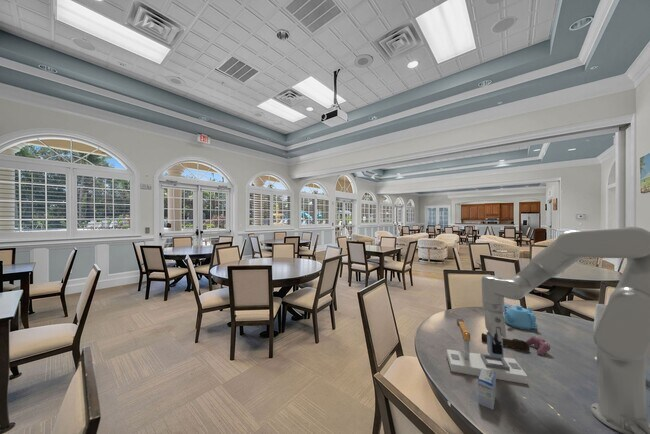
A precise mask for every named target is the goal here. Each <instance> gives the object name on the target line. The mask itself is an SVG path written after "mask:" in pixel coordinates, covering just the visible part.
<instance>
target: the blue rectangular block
mask: <svg viewBox="0 0 650 434" xmlns="http://www.w3.org/2000/svg"><path fill="white" fill-rule="evenodd" d="M486 334H487V342H486V345H487V346H486V348H487V353H488V355H490V356H491V357H497V358H504V357H505V356H504V345H503V338H504V337H502V355H501V354H494V353H493V352H492V343H493V338H492V335H491V334H490V333H489V332H488V331H486ZM494 335H495V336H497V335H496V334H494ZM496 339H497V338H495V340H496Z"/></svg>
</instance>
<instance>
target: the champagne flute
mask: <svg viewBox="0 0 650 434" xmlns="http://www.w3.org/2000/svg"><path fill="white" fill-rule="evenodd" d="M606 307H607V304H604V303H597V304H595V313H594V321H593V330H594V331H595V327H596V324H597V322H598V321H599V320H600V319H601V318H602V316H603V313H604V311H605V309H606ZM594 331H593V332H594ZM593 357H594V356H593ZM594 359H595V360H596V361H597V356H595V357H594Z"/></svg>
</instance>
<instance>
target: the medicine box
mask: <svg viewBox="0 0 650 434" xmlns="http://www.w3.org/2000/svg"><path fill="white" fill-rule="evenodd" d="M496 380H497V379H496V374H495V373H494V372H492V371H489V370H486V369H483V368H481V371H480V374H479V376H478V379H477V386H478V387H477V398H478V401H477V402H478V405H481V406H483V407H485V408H488V409H489V410H492V411H494V409H495V402H496V393H497V391H496V390H497V388H496V386H497V384H496V383H497V381H496Z"/></svg>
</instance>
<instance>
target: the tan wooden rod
mask: <svg viewBox="0 0 650 434" xmlns="http://www.w3.org/2000/svg"><path fill="white" fill-rule="evenodd" d="M456 325H457V327H458V328H459V331H460V333H461V335H462V339H463V341H464V340H466V341H469V342H470V341H471V333H470V332H469V331H468V329H467V327H466V325H465V320H464V319H463V318H456Z"/></svg>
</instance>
